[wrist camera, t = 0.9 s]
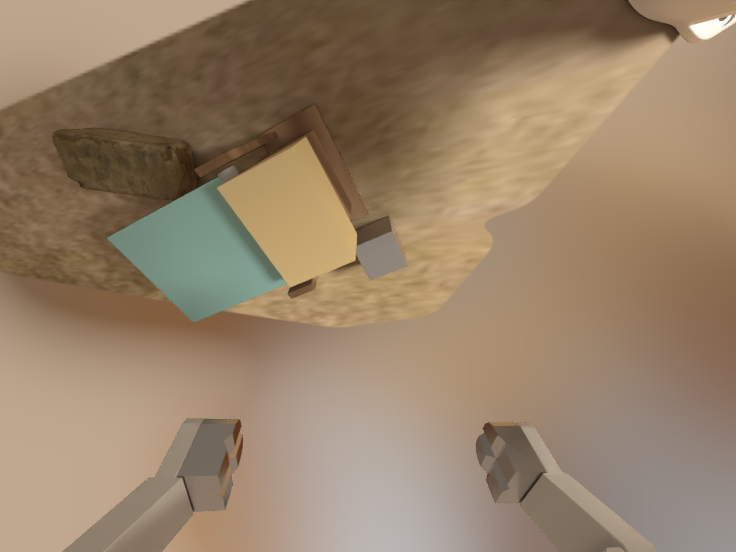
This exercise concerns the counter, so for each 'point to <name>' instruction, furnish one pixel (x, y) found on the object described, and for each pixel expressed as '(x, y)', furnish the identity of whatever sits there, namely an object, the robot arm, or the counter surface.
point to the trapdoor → (243, 234)
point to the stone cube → (380, 248)
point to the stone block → (127, 162)
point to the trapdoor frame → (325, 151)
